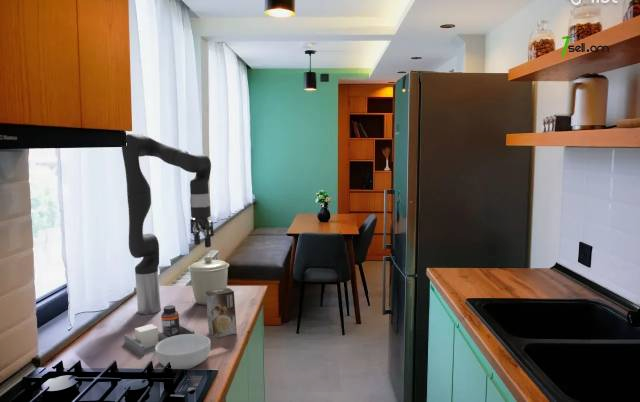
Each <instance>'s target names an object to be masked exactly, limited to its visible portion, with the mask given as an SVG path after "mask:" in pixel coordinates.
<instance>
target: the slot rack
mask: <svg viewBox="0 0 640 402" xmlns="http://www.w3.org/2000/svg"><path fill="white" fill-rule="evenodd" d="M179 326H180V335H182V334H195V330H193V329H191V328H189V327H188V326H187V325H186V326H185V325H184V324H182V323H180V322H179ZM166 338H169V337H167V336H166V335H164V334H163V332H162V331H161V332H160V331H159V330H158V340H159V342H160V341H162V340H164V339H166ZM123 340H124V343H123V345H124V346H125V347H127V348H129V349H130V350H132V352H134V353H135V354H137V355H138V356H139V357H142V356H146V355H149V354H152V353H154V352H155V347H156V345H155V346H152V347H148V348H145V349H144V345H142V344H141V343H139V342H138V341H136V340H135V338H133V337H132V336H130V335H129V334H128V333H126V334H124V335H123Z"/></svg>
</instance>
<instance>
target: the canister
mask: <svg viewBox="0 0 640 402" xmlns="http://www.w3.org/2000/svg"><path fill="white" fill-rule="evenodd" d="M203 259H204V260H200V261H196V262H194V263H192V264H190V265H188V267H187V270H188V271H189V274H190V280H191V282H190V283H191V286H192V292H193V297H194V300H195V302H196V303H197V304H198V305H203V306H207V301H206V292H207V291H213V290H219V289H225V288H228V287H227V286H228V271H229V269H228V268H229V267H230V263H228V262H226V261H224V260H221V259H213V257H212V256H211V255H206V256H204V257H203Z"/></svg>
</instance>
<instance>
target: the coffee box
mask: <svg viewBox="0 0 640 402" xmlns="http://www.w3.org/2000/svg"><path fill="white" fill-rule="evenodd" d="M235 300H236V299H235V291H234V290H232V289H231V288H229V287H227V288H225V289H219V290H213V291H207V292H206V301H207V305H206V311H207V326H208V327H207V328H208V330H207V331H208V334H209V336H212V337H213V338H216V339H217V338H221V337H226V336H230V335H235V334H237V332H238V330H237V329H238V328H237V320H236V318H237V317H236V315H237V314H236V304H235V303H236V302H235Z"/></svg>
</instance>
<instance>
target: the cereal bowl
mask: <svg viewBox="0 0 640 402" xmlns="http://www.w3.org/2000/svg"><path fill="white" fill-rule="evenodd" d="M211 344H212V343H211V339H210V338H209V337H208V336H205V335H203V334H197V333H196V334H195V333H194V334H182V335H176V336H172V337H169V338H166V339H164V340H162V341H160V342H159V343H158V344H157V345H156V347H155V357H156V360H157V362H158V363H159V364H161V366H164V367H165V366H166V364H167V363H168V362H170V365H171V368H170V369H173V370H175V369H185V370H189V369H192V368H194V367H195V366H198V365H199V364H201V363H202V362H204V361H205V360H206V359H207V358H208V356H209V354H210V352H211V347H212V346H211Z"/></svg>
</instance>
